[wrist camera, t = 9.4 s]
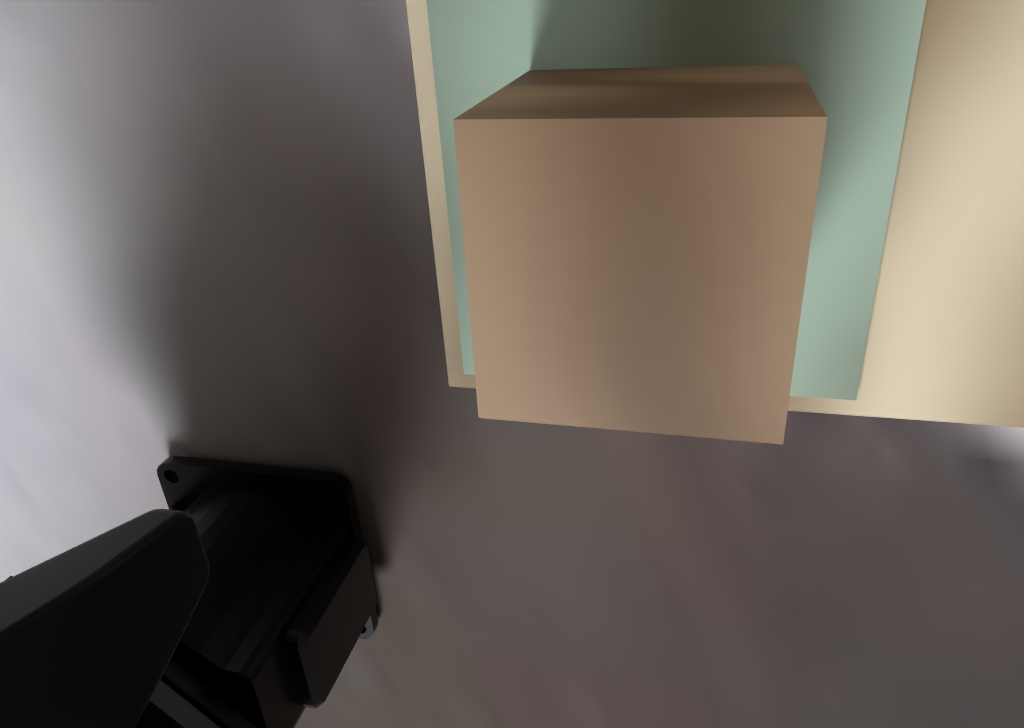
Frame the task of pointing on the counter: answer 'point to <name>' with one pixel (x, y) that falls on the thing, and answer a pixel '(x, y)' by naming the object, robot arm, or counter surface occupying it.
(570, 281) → the walnut block
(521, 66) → the birch board
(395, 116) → the counter surface
